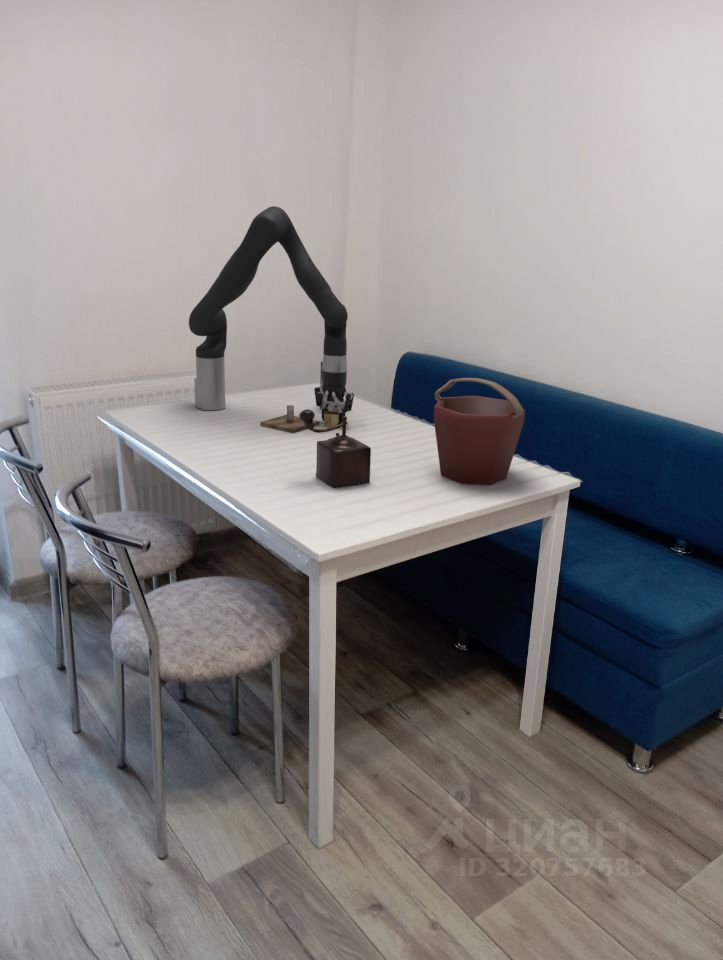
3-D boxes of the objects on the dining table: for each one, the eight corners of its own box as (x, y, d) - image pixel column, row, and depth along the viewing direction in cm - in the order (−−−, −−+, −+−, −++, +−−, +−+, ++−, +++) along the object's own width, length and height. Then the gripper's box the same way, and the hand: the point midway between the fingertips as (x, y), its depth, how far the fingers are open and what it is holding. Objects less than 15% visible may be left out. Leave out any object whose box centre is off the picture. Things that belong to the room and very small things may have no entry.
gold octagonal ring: (320, 425, 251) (320, 413, 249) (331, 422, 255) (331, 409, 254) (335, 428, 248) (335, 416, 246) (345, 425, 252) (346, 412, 251)
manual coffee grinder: (349, 470, 209) (351, 403, 203) (370, 483, 200) (373, 413, 194) (295, 478, 201) (296, 408, 196) (315, 491, 192) (316, 419, 187)
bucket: (411, 468, 212) (416, 375, 204) (472, 456, 225) (479, 368, 217) (475, 495, 194) (484, 394, 186) (538, 480, 206) (548, 385, 198)
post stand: (260, 425, 248) (260, 406, 246) (287, 417, 258) (287, 399, 256) (293, 433, 241) (293, 413, 239) (319, 424, 251) (319, 405, 249)
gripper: (308, 367, 246) (307, 420, 252) (346, 374, 239) (344, 428, 244) (323, 364, 252) (322, 416, 258) (360, 370, 245) (358, 424, 250)
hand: (333, 422), depth 251 cm, fingers closed on gold octagonal ring, 5 cm apart
